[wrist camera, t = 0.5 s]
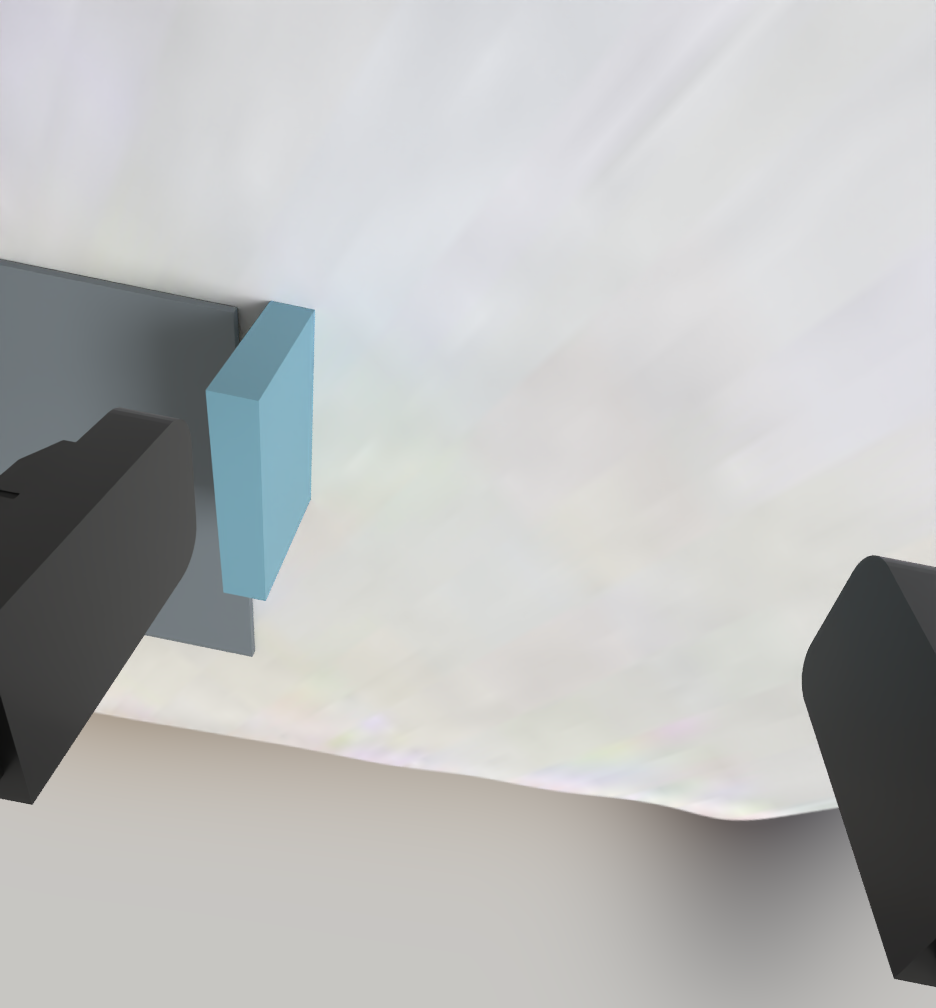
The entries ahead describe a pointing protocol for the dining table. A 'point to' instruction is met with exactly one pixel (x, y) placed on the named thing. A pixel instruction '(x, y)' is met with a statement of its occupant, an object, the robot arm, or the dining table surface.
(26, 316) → the mat
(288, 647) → the dining table surface
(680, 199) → the dining table surface
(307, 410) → the card box
